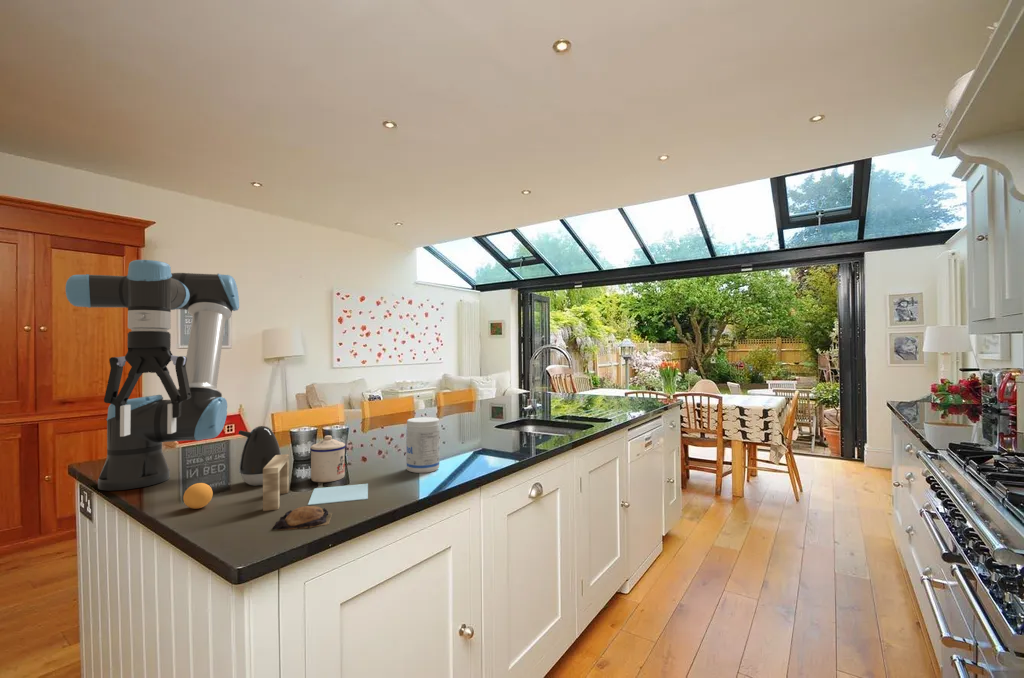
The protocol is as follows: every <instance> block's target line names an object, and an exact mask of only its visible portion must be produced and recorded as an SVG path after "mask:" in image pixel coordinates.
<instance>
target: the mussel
mask: <svg viewBox="0 0 1024 678" xmlns="http://www.w3.org/2000/svg"><path fill="white" fill-rule="evenodd" d="M332 516H333V512H329V511H328V510H327V509H326V508H325V507H324V508H322V507H320V506H316V505H307V506H306V505H305V506H299V507H296V508H295V509H293V510H289V511H287V512H286V513H285V514H284V515H282V516H280V518H279V520H278V521H276V522H275V524H274V525H273V526H272V529H273V530H277V531H289V530H300V529H308V528H309V529H311V528H316V527H324V526H328V525H330V522H331V518H332Z"/></svg>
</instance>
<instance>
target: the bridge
mask: <svg viewBox="0 0 1024 678" xmlns="http://www.w3.org/2000/svg"><path fill="white" fill-rule="evenodd" d="M289 456H290V454H288V453H286V454H285V453H284V454H283V453H282V454H281V455H275V456H274V457H273V458H272V460H271V461H270V462H269V463H268V464H267V465H266V466H265V467H264V468H263V485H262V512H267V511H277V510H279V508H280V505H281V503H280V501H281V499H280V497H281V496H280V495H282V494H283V495H284V494H288V493H289V492H290V477H289V476H290V470H289V469H290V468H289V467H290V458H289Z"/></svg>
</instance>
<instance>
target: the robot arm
mask: <svg viewBox="0 0 1024 678" xmlns="http://www.w3.org/2000/svg"><path fill="white" fill-rule="evenodd" d="M171 267H172V266H170V264H168V263H167V262H164V261H159V260H152V259H135V260H132V261H130V262H129V263H128V267H127V268H128V270H127V275H110V274H109V275H108V274H107V275H106V274H87V273H85V274H73V275H70V276H69V278H67V280H66V283H65V296H66V298H67V301H68V302H69V303H70V304H71V305H72V306H74V307H77V308H78V307H80V308H89V309H90V308H126V309H127V329H128V330H131V331H128V332H127V344H126V345H127V347H126V348H127V352H126V354H125V356H123V355H122V356H112V357H110V358H109V362H108V363H109V365H110V371H109V375H108V380H107V385H106V389H105V393H104V398H103V402H104V403H105V404H109V406H108V408H107V418H106V419H105V420H106V445H107V446H106V459H105V462H104V465H103V467H102V468H101V472H100V474H99V477H98V479H97V489H98V490H101V491H107V492H108V491H125V490H131V489H138V488H139V489H140V488H144V487H149V486H153V485H158V484H161V483H164V482H166V481H168V480H169V479H170V475H171V473H170V472H171V470H170V468H169V464H168V463H167V460H166V457H165V455H164V453H163V443H168V442H169V443H171V442H186V441H202V440H209V439H215V438H216V437H218V436H219V435H220V434H221V432H222V431H223V429H224V427H225V424H226V420H227V415H228V402H227V399H226V398H225V397H223V395H222V392H221V391H220V390H219V389H218V381H219V380H218V379H219V371H220V365H221V355H222V349H223V342H224V341H223V339H224V335H225V334H224V331H225V325H226V321H227V320H229V319H230V318H232V315H233V314H232V313H233V312H236V311H238V310H239V309H240V297H239V291H238V287H237V286H238V285H237V283H236V280H235V278H234V277H233V276H232V275H230V274H221V273H216V274H215V273H214V274H212V273H195V272H194V273H192V272H191V273H189V272H188V273H186V272H172V270H171V269H172V268H171ZM173 310H174V311H175V310H180V311H181V310H182V311H184V310H185V311H187V312H188V314H190V316H191V317H192V320H191V326H190V331H189V338H188V346H187V351H186V356H184V355H180V356H179V355H173V353H172V351H171V340H172V339H171V338H172V337H171V333H170V332H169V330H171V327H172V324H171V323H172V320H171V319H172V318H171V316H172V315H171V313H172V311H173ZM126 362H127V363H128V364H129V365H130V366H131V367H130V369H129V371H128V373H127V377H126V379H125V381H124V382H123V385H122V387H121V389H120V386H121V380H122V376H123V372H124V367H125V365H126ZM171 362H172V364H173V366H175V369H174V370H175V373H176V378H177V379H176V380H177V385H178V388H177V386H176V384H175V382H174V380H173V378H172V376H171V375H170V371H169V368H168V367H167V366H168V365H169V364H170V363H171ZM147 373H150V374H154V373H155V374H156V376H157V377H158V378H159V380H160V382H161V383H162V387H164V389H165V391H166V393H167V395H168V397H169V399H164V397H163V395H162V394H154V395H148V396H147V395H146V396H140V397H133V398H130V397H131V395H132V393H133V390H134V389H135V386H136V385H137V383H138V381H139V379H140V377H142V375H143V374H147ZM119 390H120V391H119Z"/></svg>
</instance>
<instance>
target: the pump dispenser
mask: <svg viewBox="0 0 1024 678" xmlns="http://www.w3.org/2000/svg"><path fill="white" fill-rule="evenodd" d="M238 435H240V436H243V437H246V440H245V442H244V445H243V447H242V451H241V454H240V460H239V466H238V471H239V474H240V476H241V479H242V480H243V482H244V483H246V485H247V484H248V485H249V486H254V487H255V486H263V468H264V467H265V466H266V465H267V464H268V463H269V462H270V461H271V460H272V458H273V457H274V456H275V455H282V451H281V448H280V445H279V444H280V443H279V441H278V440H277V437H276V435H275V433H274V432H273V430H272V428H270V427H268V426H265V425H259V426H255V427H254V428H253V429H252V430H251V431H246V430H245V431H244V430H241V429H240V430H239V431H238Z"/></svg>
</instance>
